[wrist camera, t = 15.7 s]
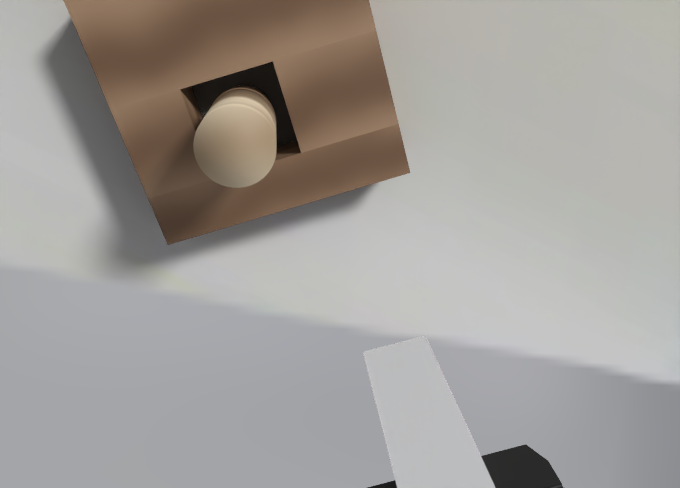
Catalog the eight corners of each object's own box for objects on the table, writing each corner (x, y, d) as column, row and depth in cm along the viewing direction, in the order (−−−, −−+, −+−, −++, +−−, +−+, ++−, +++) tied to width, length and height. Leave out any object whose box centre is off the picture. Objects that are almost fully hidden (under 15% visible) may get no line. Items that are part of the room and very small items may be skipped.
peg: (205, 90, 39) (180, 120, 29) (265, 72, 39) (261, 96, 28) (226, 148, 40) (210, 197, 30) (283, 131, 40) (286, 174, 30)
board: (84, -1, 36) (63, -2, 32) (340, -79, 36) (347, -88, 32) (177, 223, 42) (167, 244, 38) (398, 157, 42) (410, 172, 38)
